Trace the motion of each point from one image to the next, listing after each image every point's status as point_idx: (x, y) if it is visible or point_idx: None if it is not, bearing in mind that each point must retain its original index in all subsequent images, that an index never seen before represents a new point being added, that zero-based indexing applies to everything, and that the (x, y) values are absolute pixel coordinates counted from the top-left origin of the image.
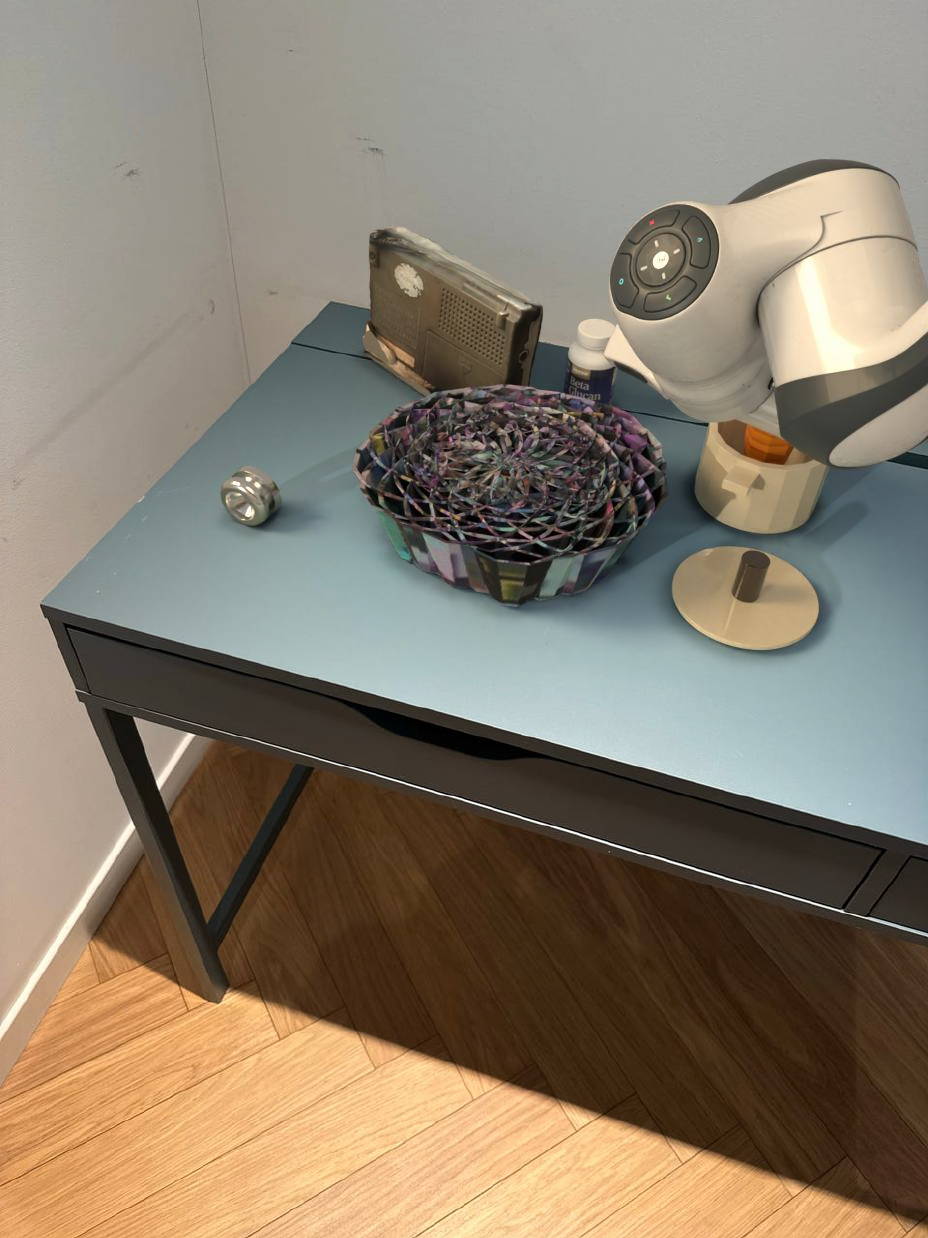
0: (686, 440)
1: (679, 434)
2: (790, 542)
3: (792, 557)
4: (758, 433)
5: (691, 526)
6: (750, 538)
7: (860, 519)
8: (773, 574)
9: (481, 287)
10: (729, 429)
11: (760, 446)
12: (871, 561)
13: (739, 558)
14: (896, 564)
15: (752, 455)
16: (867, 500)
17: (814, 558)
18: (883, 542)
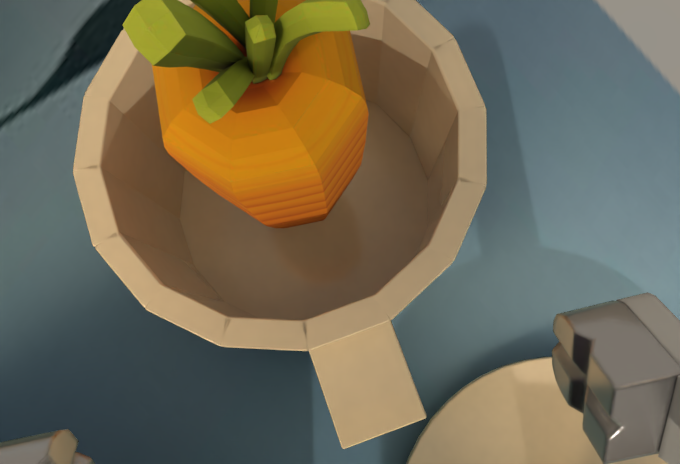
0: (59, 171)
1: (31, 168)
2: (471, 262)
3: (512, 300)
4: (275, 213)
5: (295, 416)
6: (409, 329)
7: (502, 70)
8: (561, 422)
9: None
10: (141, 156)
11: (299, 216)
12: (616, 163)
13: (472, 447)
14: (651, 127)
15: (285, 225)
16: (465, 7)
17: (541, 260)
18: (584, 91)
